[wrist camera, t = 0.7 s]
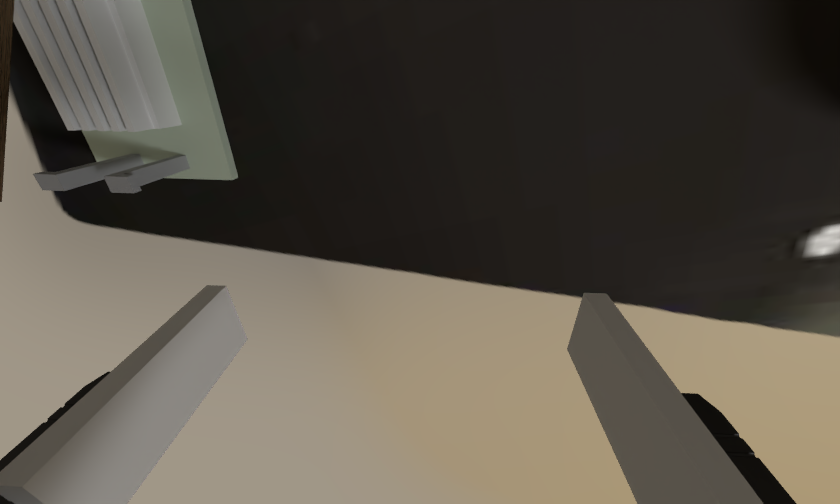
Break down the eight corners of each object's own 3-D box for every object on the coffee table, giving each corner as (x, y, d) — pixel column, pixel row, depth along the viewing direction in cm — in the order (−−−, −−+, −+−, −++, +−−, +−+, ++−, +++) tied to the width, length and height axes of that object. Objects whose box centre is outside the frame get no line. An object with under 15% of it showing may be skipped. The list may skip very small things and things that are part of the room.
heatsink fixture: (-16, -103, 27) (-239, -191, 18) (162, -105, 26) (20, -198, 18) (112, 173, 39) (14, 201, 30) (238, 177, 38) (176, 207, 29)
